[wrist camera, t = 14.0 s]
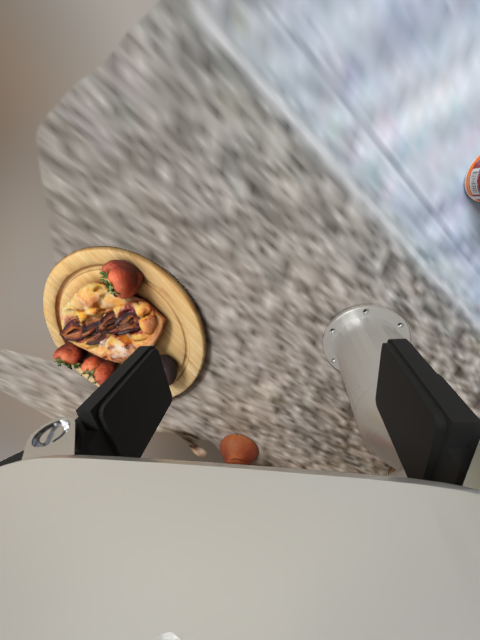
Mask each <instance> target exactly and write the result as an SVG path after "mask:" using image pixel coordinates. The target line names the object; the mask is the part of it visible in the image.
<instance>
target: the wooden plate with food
mask: <svg viewBox="0 0 480 640" xmlns="http://www.w3.org/2000/svg"><path fill="white" fill-rule="evenodd" d="M43 309H44V315H45V320H46V323H47V326H48V329H49V331H50V334H51V336H52V338H53V340H54V342H55V344H56V346H57V347H58V349H57V350H56V351H55V352H54V355H53V356H54V359H56V360H57V361H55V362H58V365H57V366H61V363H63V364H64V365H65V366H68V368H70V369H72V368H71V366H73V367H74V368H75V369H76V370H77V371H78V372H79V373H80V374H81V376H82V375H83V376H84V377H85V378H86V379H88V380H89V381H90V382H92V383H93V384H95V385H96V386H98V387H100V386H101V384H102V383H103V382H104V381H105V380H106V379H107V378H108V377H109V376H110V375H111V374H112V373H113V372H114V371H115V370H116V369H117V368H118V367H119V366H120V365H121V364H122V363H123V362H124V361H125V360H126V359H127V358H128V357H129V356H130V355H131V354H132V353H133V352H134V351H135V350H136V349H137V348H138V347H140V346H154V347H155V349H158V351H159V354H160V357H161V360H162V364H163V367H164V370H165V374H166V377H167V380H168V383H169V387H170V390H171V393H172V397H175V396H177V395H179V394H181V393H182V392H184V391H185V390H186V389H188V388H189V387H190V386H191V385H192V384H193V383H194V381H195V380H196V379H197V377H198V376H199V374H200V372H201V370H202V368H203V365H204V362H205V358H206V351H207V342H206V334H205V329H204V325H203V322H202V319H201V316H200V314H199V311H198V309H197V307H196V305H195V304H194V302H193V300H192V299H191V297H190V295H189V294H188V293H187V292H186V290H185V289H184V288H183V286H182V285H181V284H180V283H179V282H178V281H177V280H176V279H175V278H174V277H173V276H172V275H171V274H170V273H169V272H167V271H166V270H165V269H164V268H162V267H161V266H159V265H158V264H156V263H155V262H153V261H151V260H150V259H148V258H146V257H144V256H142V255H140V254H138V253H135V252H132V251H129V250H126V249H121V248H117V247H111V246H97V247H88V248H84V249H80V250H77V251H75V252H73V253H71V254H69V255H68V256H66V257H64V258H63V259H62V260H61V261H59V262H58V263H57V264H56V266H55V267H54V268H53V270H52V271H51V272H50V275H49V277H48V279H47V282H46V285H45V289H44V296H43Z"/></svg>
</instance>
